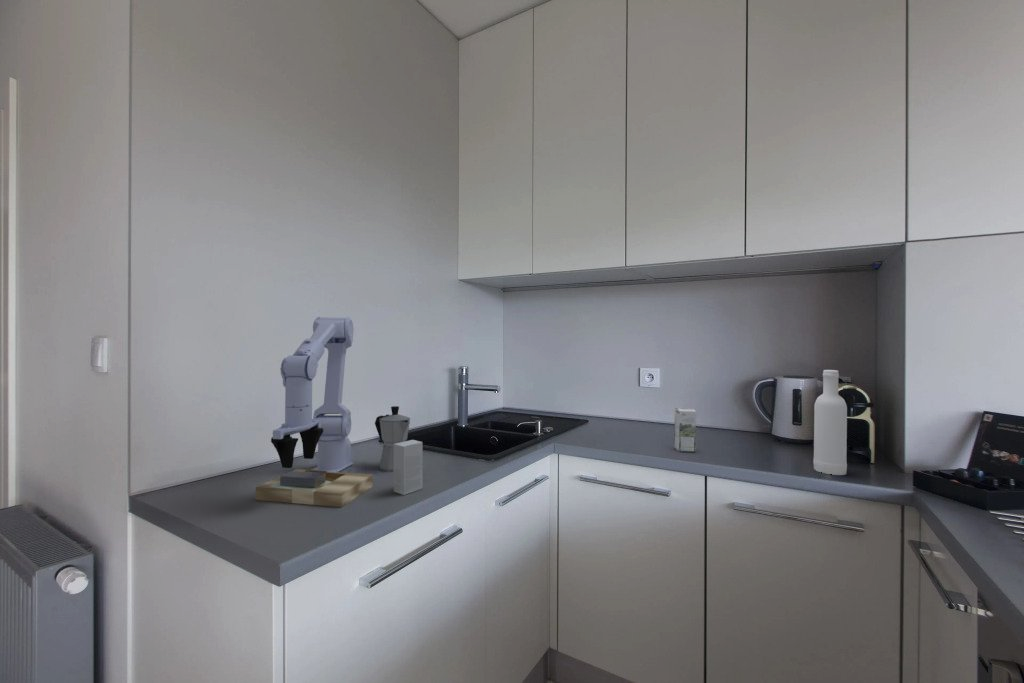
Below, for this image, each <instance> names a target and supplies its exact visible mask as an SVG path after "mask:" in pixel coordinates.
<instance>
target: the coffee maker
mask: <svg viewBox="0 0 1024 683" xmlns="http://www.w3.org/2000/svg"><path fill="white" fill-rule="evenodd" d="M390 409H391V414H385V415H378V416H377V417H376V419H375V421H374V426H375V428H376V432H377V433H378V436H379V439H380V442H383V447H382V454H381V458H380V464H379V470H380V471H384V472H394V444H396V443H400V442H405V441H408V435H409V429H410V423H411V417H409V416H406V415H402V414H399V409H400V406H397V405H396V406H394V405H393V406H391V407H390Z"/></svg>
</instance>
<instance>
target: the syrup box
mask: <svg viewBox="0 0 1024 683" xmlns="http://www.w3.org/2000/svg"><path fill="white" fill-rule="evenodd" d="M673 438H674V441H673V444H674V445H673V447H674V449H675V450H677V451H678V452H682V453H696V449H697V448H696V446H697V443H696V440H697V439H696V438H697V411H696V410H695V409H693V408H691V407H689V408H687V407H686V408H683V407H676V408H674V437H673Z"/></svg>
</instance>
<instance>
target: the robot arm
mask: <svg viewBox="0 0 1024 683" xmlns="http://www.w3.org/2000/svg"><path fill="white" fill-rule="evenodd" d="M353 324H354V323H353V320H352V319H351V318H350V317H349V316H348V317H320V316H316V317H315V319H314V321H313V324H312V332H313V333H312V335H311V337H310V338H305V339H304V340H303V341H302V342H301V344H300V345H299V346H298V348H297V349H296V350H295V352H294V353H293V354H292V355H287V356H286V357H284V358H283V359H282V361H281V364H280V368H279V370H280V375H281V378H282V385H283V387H284V390H285V394H284V397H285V398H284V399H285V400H284V419H285V420H284V423H282V424H281V426H280V427H278V428H275V429H273V430H272V437H271V438H270V442H271V444H272V446H274V448H275V451H276V452H277V454H278V457H279V461H280V465H281V468H283V469H291V468H293V464H294V459H295V458H294V457H295V451H296V450H295V449H296V446H297V443H298V441H299V438H298V437H297V438H296V437H293V436H292V435H296V434H298V433H299V435H300V439H301V443H302V454H303V455H302V456H303V459H309V460H312V459H314V456H315V453H316V449H317V466H316V467H314V468H312V469H310V470H320V471H329V472H341V471H343V470H344V469H347V468H348V467H350V466H353V465H354V462H352V444H351V440H350V438H349V437H348V436H349V435H350V433H351V430H352V418H351V415H352V414H351V413H352V412H351V410H350V409H349V408H348V407H346V406H345V405H344V404H342V402H343V401H342V399H343V389H344V378H345V364H346V354H347V349H349V348H350V347H352V346H353V345H352V344H353V341H354V329H355V328H354V325H353ZM325 349H327V364H326V372H325V375H326V376H325V386H324V398H323V404H322V405H320V406H319V407H318V408H316V409H315V410H314V412H313V380H314V379H315V377H316V375H317V370H318V367H319V361H320V360H321V358H322V356H323V355H324V354H325ZM338 414H339V415H338Z"/></svg>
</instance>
